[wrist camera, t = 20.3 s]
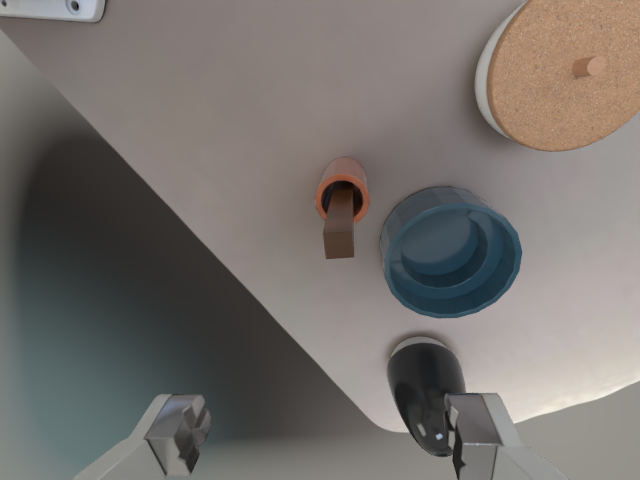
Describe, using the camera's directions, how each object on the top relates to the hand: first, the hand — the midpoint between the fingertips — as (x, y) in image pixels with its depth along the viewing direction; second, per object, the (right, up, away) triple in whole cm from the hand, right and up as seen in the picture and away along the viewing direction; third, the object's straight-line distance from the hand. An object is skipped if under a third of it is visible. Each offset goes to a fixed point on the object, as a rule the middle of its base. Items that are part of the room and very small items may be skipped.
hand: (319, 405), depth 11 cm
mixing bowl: (+15, +6, +30) cm, 34 cm away
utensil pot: (+3, +13, +28) cm, 31 cm away
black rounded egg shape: (+15, -12, +38) cm, 43 cm away
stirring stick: (+3, +13, +28) cm, 31 cm away
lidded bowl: (+21, +23, +22) cm, 38 cm away
